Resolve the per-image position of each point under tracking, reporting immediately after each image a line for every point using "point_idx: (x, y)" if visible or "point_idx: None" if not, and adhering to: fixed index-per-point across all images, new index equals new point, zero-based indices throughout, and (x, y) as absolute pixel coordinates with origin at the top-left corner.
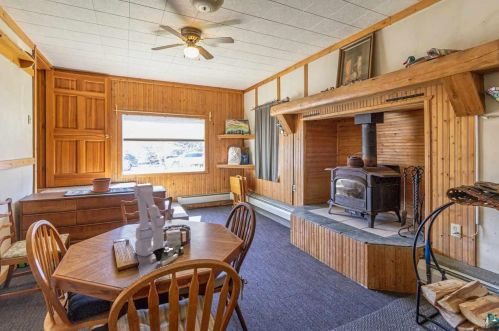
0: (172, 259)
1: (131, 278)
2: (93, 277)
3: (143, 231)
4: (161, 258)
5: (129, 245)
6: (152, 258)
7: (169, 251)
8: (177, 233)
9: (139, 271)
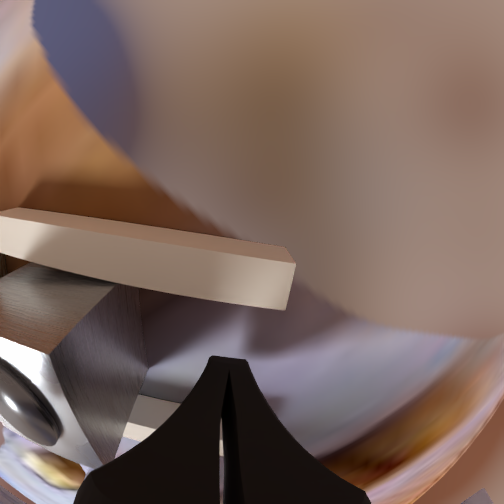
0: (84, 219)
1: (494, 352)
2: (436, 469)
3: None
4: (140, 376)
5: None
6: (221, 449)
7: (14, 327)
8: None
9: (423, 388)
